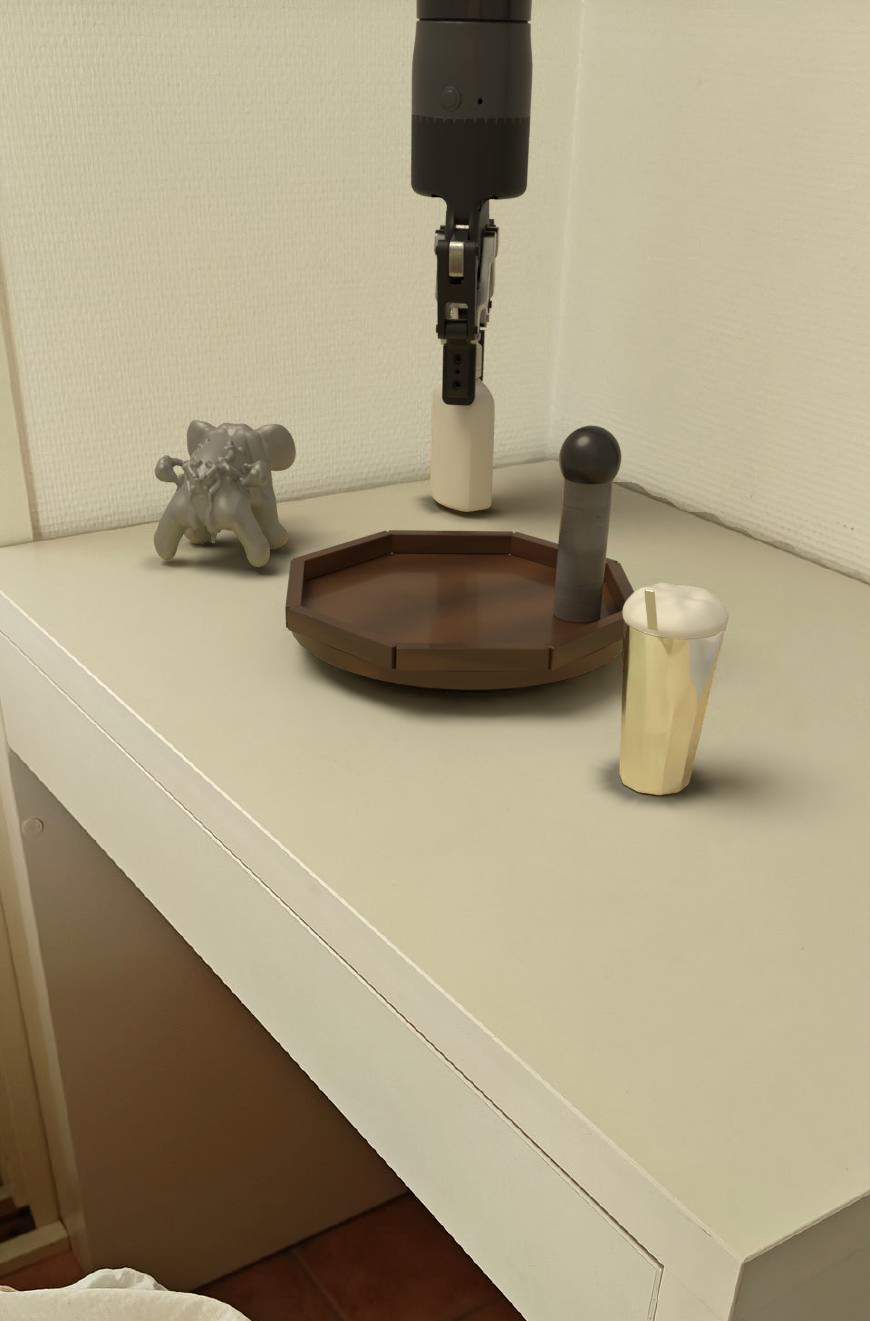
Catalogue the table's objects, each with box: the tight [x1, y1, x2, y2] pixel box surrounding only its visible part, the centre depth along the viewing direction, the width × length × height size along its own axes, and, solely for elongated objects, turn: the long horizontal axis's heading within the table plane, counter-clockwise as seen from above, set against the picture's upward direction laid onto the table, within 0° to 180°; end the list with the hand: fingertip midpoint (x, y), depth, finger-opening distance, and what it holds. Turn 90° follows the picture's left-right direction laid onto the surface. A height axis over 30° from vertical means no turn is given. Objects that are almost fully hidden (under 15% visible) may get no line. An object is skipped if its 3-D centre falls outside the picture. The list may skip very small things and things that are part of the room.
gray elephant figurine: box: [153, 419, 297, 568], centre depth 89 cm, size 9×12×8 cm
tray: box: [284, 425, 635, 690], centre depth 73 cm, size 19×19×11 cm
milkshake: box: [618, 582, 729, 796], centre depth 61 cm, size 4×5×10 cm
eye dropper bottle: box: [429, 343, 496, 513], centre depth 96 cm, size 4×6×12 cm
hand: (463, 393), depth 95 cm, fingers closed on eye dropper bottle, 5 cm apart
